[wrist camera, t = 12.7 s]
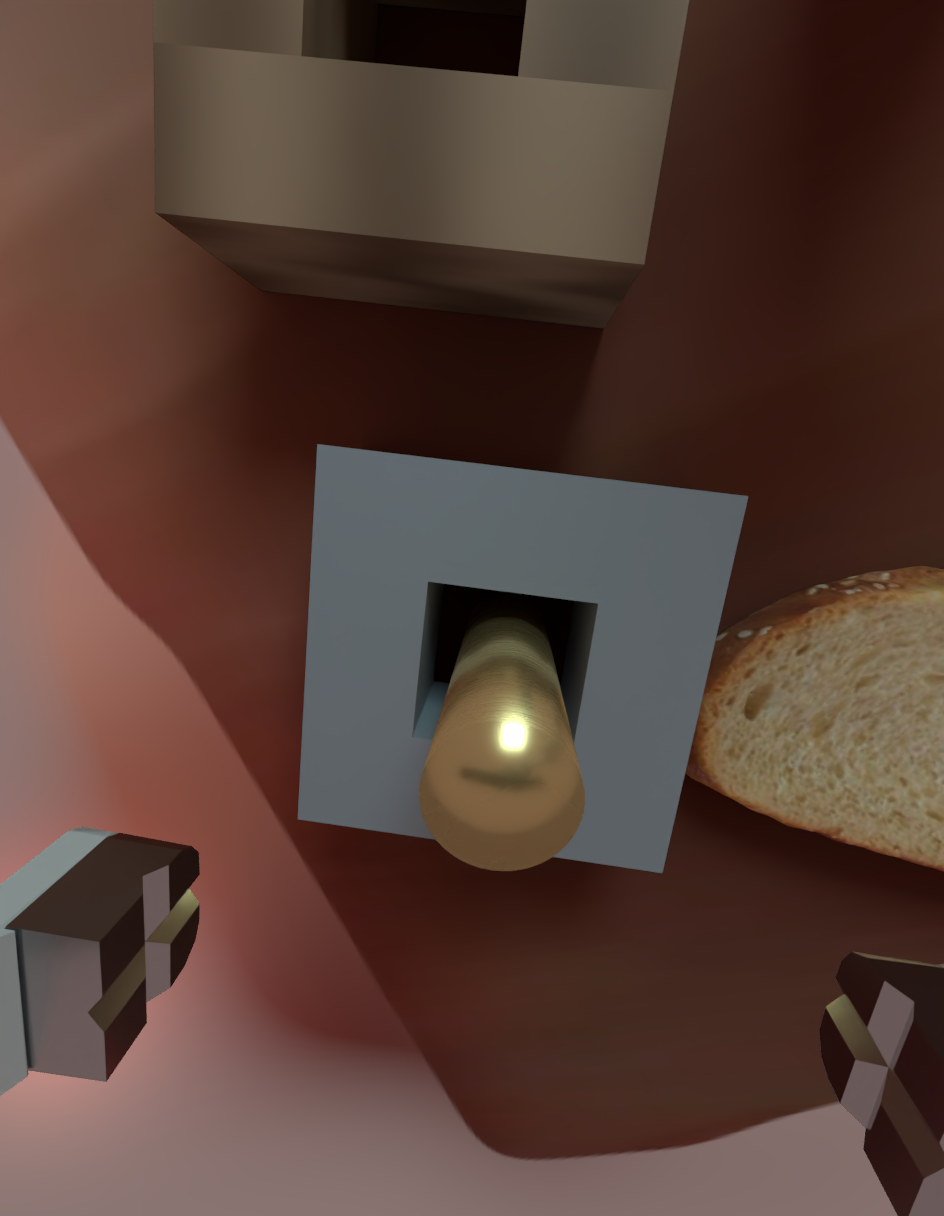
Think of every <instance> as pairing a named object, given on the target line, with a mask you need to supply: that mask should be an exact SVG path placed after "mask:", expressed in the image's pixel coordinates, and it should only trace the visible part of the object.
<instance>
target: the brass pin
mask: <svg viewBox="0 0 944 1216" xmlns="http://www.w3.org/2000/svg"><path fill="white" fill-rule="evenodd" d="M419 801H420V808H421V812H422V816H423V818H424V821H425V823H426V825H427V827H428V829H429V831H430V832H431V834H432V835H433V837H434V838H435V839H436V840H437V842H438V843H439V844H440V845H441V846H442V847H443V848H444V849H445V850H447V851H448V852H449V853H450V854H452V855H453V856H455V857H456V858H458V859H460V860H461V861H464V862H466V863H468V864H470V865H473V866H476V867H479V868H483V869H487V870H494V871H515V870H522V869H526V868H530V867H533V866H536V865H538V864H541V863H543V862H545V861H547V860H548V859H550V858H552V857H553V856H555V855H556V854H557V853H559V852H560V851H561V850H562V849H563V848H564V847H565V846H566V845H567V844H568V843H569V841H570V840H571V839H572V838H573V836H574V834H575V833H576V831H577V829H578V827H579V825H580V823H581V820H582V816H583V813H584V806H585V790H584V784H583V779H582V775H581V771H580V767H579V763H578V759H577V754H576V750H575V746H574V742H573V738H572V734H571V730H570V725H569V721H568V717H567V713H566V709H565V705H564V700H563V696H562V692H561V688H560V684H559V680H558V676H557V671H556V667H555V663H554V659H553V655H552V651H551V646H550V642H549V638H548V634H547V630H546V626H545V622H544V618H543V615H542V613H541V611H540V610H539V608H538V607H537V606H536V605H535V603H534V602H532V601H531V600H530V599H528V598H527V597H525V596H523V595H521V594H518V593H512V592H499V593H495V594H492V595H490V596H488V597H486V598H484V599H483V600H482V601H480V602H479V603H478V604H477V606H476V607H475V608H474V610H473V611H472V613H471V615H470V618H469V621H468V625H467V628H466V631H465V635H464V638H463V641H462V644H461V648H460V651H459V654H458V658H457V661H456V664H455V667H454V671H453V674H452V677H451V681H450V684H449V687H448V690H447V694H446V697H445V700H444V704H443V707H442V710H441V713H440V717H439V720H438V723H437V727H436V730H435V733H434V736H433V740H432V743H431V746H430V750H429V753H428V756H427V759H426V763H425V766H424V769H423V773H422V776H421V780H420V786H419Z"/></svg>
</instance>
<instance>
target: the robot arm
mask: <svg viewBox="0 0 944 1216" xmlns="http://www.w3.org/2000/svg"><path fill="white" fill-rule="evenodd" d="M199 874H200V873H199V853H198V851H197V850H195V849H194V848H193V847H192V846H187V845H182V844H176V843H171V842H166V841H161V840H155V839H149V838H145V837H139V836H134V835H129V834H123V833H118V834H117V833H113V832H108V831H102V830H98V829H92V828H87V827H81V828H76V829H73V830H69V831H68V832H66V833H65V834H64V835H63V836H61V837H60V838H59V839H58V840H56V841H55V842H54V843H52V844H51V845H50V846H48V847H47V848H46V849H45V850H43V851H42V852H41V853H40V854H38V855H37V856H36V857H34V858H33V859H32V860H31V861H29V862H28V863H27V864H26V865H24V866H23V867H22V868H21V869H19V870H18V871H17V872H16V873H14V874H13V875H12V876H10V877H9V878H8V879H7V880H5V881H4V882H3V883H1V884H0V1096H1V1095H2V1094H3V1093H5V1092H6V1091H8V1090H9V1089H10V1088H12V1087H13V1086H15V1085H16V1084H17V1083H19V1082H20V1081H22V1080H23V1079H24V1078H26V1077H27V1076H28V1070H29V1071H36V1072H44V1073H50V1074H57V1075H64V1076H70V1077H77V1078H85V1079H91V1080H99V1081H105V1082H106V1081H107V1080H108V1079H109V1077H110V1076H111V1074H112V1073H113V1071H114V1070H115V1068H116V1067H117V1065H118V1064H119V1062H120V1061H121V1060H122V1058H123V1056H124V1055H125V1054H126V1052H127V1051H128V1049H129V1048H130V1046H131V1045H132V1043H133V1042H134V1040H135V1039H136V1038H137V1036H138V1035H139V1033H140V1032H141V1030H142V1029H143V1027H144V1026H145V1024H146V1023H147V1022H146V1021H147V1020H146V1019H147V1015H146V1002H148V1001H149V1000H151V999H153V998H154V997H156V996H158V995H159V994H161V993H162V992H164V991H166V990H167V989H169V988H170V987H171V986H172V984H173V983H174V981H175V980H176V978H177V977H178V975H179V973H180V972H181V971H182V969H183V968H184V966H185V964H186V961H187V959H188V956H189V954H190V952H191V949H192V947H193V944H194V942H195V939H196V934H197V929H198V924H199V903H198V901H197V900H196V898H195V897H194V895H193V894H192V892H191V891H190V889H189V887H190V886H191V885H192V883H193V882H194V881H195V879H196V878H197V877H198V875H199ZM836 979H837V981H838V983H839V985H840V988H841V990H842V992H843V995H842V996H840V997H839V998H837V999H836V1000H835V1001H833V1002H832V1003H831V1004H829V1005H828V1006H826V1007H825V1011H824V1015H823V1018H822V1022H821V1026H820V1029H819V1033H820V1046H821V1057H822V1061H823V1064H824V1067H825V1070H826V1074H827V1077H828V1080H829V1082H830V1084H831V1086H832V1088H833V1090H834V1092H835V1094H836V1096H837V1098H838V1100H839V1102H840V1104H841V1105H842V1106H844V1108H845V1109H846V1110H847V1111H849V1112H850V1113H851V1114H852V1115H853V1116H854V1117H855V1118H856V1119H857V1120H858V1121H859V1122H860V1123H861V1124H862V1125H863V1126H864V1127H865V1128H866V1132H865V1141H864V1151H865V1153H866V1155H867V1157H868V1159H869V1161H870V1163H871V1165H872V1167H873V1169H874V1171H875V1172H876V1174H877V1176H878V1178H879V1180H880V1182H881V1184H882V1186H883V1188H884V1190H885V1192H886V1194H887V1196H888V1198H889V1200H890V1201H891V1203H892V1205H893V1207H894V1209H895V1211H896V1213H897V1215H898V1216H944V965H943V964H939V965H934V964H930V963H923V962H916V961H910V960H903V959H897V958H890V957H884V956H877V955H871V954H864V953H857V952H850V953H849V954H848V955H847V956H846V957H845V958H844V959H843V960H842V961H841V964H840V966H839V969H838V972H837V975H836Z"/></svg>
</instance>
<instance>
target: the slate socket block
mask: <svg viewBox="0 0 944 1216" xmlns="http://www.w3.org/2000/svg"><path fill="white" fill-rule="evenodd" d="M747 500H748V496H742V495H734V494H725V493H717V492H709V491H701V490H692V489H684V488H676V487H668V486H659V485H651V484H643V483H635V482H626V481H618V480H610V479H602V478H593V477H585V476H577V475H568V474H560V473H552V472H544V471H535V470H527V469H519V468H511V467H502V466H494V465H486V464H478V463H469V462H461V461H453V460H445V459H436V458H428V457H420V456H412V455H403V454H395V453H387V452H379V451H370V450H362V449H354V448H346V447H337V446H329V445H321V444H317V459H316V478H315V497H314V516H313V535H312V554H311V574H310V593H309V612H308V631H307V650H306V669H305V689H304V708H303V727H302V746H301V765H300V784H299V804H298V819H299V820H306V821H313V822H320V823H327V824H333V825H340V826H347V827H354V828H360V829H367V830H374V831H381V832H388V833H394V834H401V835H408V836H415V837H421V838H428V839H435V838H434V837H433V835H432V834H431V832H430V831H429V829H428V827H427V825H426V823H425V821H424V818H423V816H422V812H421V808H420V801H419V786H420V780H421V776H422V773H423V769H424V766H425V763H426V759H427V756H428V753H429V750H430V746H431V743H432V740H433V736H434V733H435V730H436V727H437V723H438V720H439V717H440V713H441V710H442V707H443V704H444V700H445V697H446V694H447V690H448V687H449V684H450V683H443V682H435V681H434V671H435V662H436V653H437V644H438V634H439V625H440V616H441V607H442V598H443V588H444V584H450V585H458V586H465V587H473V588H481V589H489V590H496V591H504V592H512V593H519V594H527V595H535V596H543V597H550V598H558V599H566V600H573V601H574V605H573V611H572V618H571V624H570V630H569V636H568V642H567V648H566V654H565V660H564V666H563V672H562V678H561V684H560V688H561V692H562V696H563V700H564V705H565V709H566V713H567V717H568V721H569V725H570V730H571V734H572V738H573V742H574V746H575V750H576V754H577V759H578V763H579V767H580V771H581V775H582V779H583V784H584V790H585V806H584V813H583V816H582V820H581V823H580V825H579V827H578V829H577V831H576V833H575V834H574V836H573V838H572V839H571V840H570V841H569V843H568V844H567V845H566V846H565V847H564V848H563V849H562V850H561V851H560V852H559V853H557V854H556V855H555V856H553V857H557V858H564V859H570V860H577V861H584V862H591V863H598V864H604V865H611V866H618V867H625V868H631V869H638V870H645V871H652V872H659V873H662V872H663V868H664V864H665V859H666V855H667V850H668V846H669V842H670V837H671V833H672V829H673V824H674V820H675V815H676V811H677V807H678V802H679V798H680V794H681V789H682V785H683V780H684V776H685V772H686V767H687V763H688V759H689V754H690V750H691V745H692V741H693V737H694V732H695V728H696V724H697V719H698V715H699V710H700V706H701V702H702V697H703V693H704V688H705V684H706V680H707V675H708V671H709V667H710V662H711V658H712V653H713V649H714V645H715V640H716V636H717V632H718V627H719V623H720V618H721V614H722V610H723V605H724V601H725V597H726V592H727V588H728V583H729V579H730V575H731V570H732V566H733V562H734V557H735V553H736V548H737V544H738V540H739V535H740V531H741V527H742V522H743V518H744V513H745V509H746V505H747ZM435 840H436V839H435Z"/></svg>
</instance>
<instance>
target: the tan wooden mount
mask: <svg viewBox="0 0 944 1216" xmlns="http://www.w3.org/2000/svg"><path fill="white" fill-rule="evenodd" d="M378 4H386V5H397V6H409V7H420V8H431V9H442V10H453V11H464V12H475V13H487V14H498V15H509V16H520V17H525V21H524V29H523V38H522V47H521V55H520V64H519V73H518V76H507V75H496V74H486V73H475V72H464V71H454V70H443V69H432V68H422V67H411V66H400V65H390V64H379V63H375V48H376V32H377V17H378ZM688 5H689V0H153V50H154V139H155V213H156V214H158V215H159V216H160V217H162V218H163V219H165V220H166V221H167V222H169V223H170V224H171V225H173V226H174V227H175V228H177V229H178V230H179V231H181V232H182V233H183V234H185V235H186V236H188V237H189V238H190V239H192V240H193V241H194V242H196V243H197V244H198V245H200V246H201V247H202V248H204V249H205V250H206V251H208V252H209V253H210V254H212V255H213V256H215V257H216V258H217V259H219V260H220V261H221V262H223V263H224V264H225V265H227V266H228V267H229V268H231V269H232V270H233V271H235V272H236V273H237V274H239V275H240V276H242V277H243V278H244V279H246V280H247V281H248V282H250V283H251V284H252V285H254V286H255V287H256V288H258V289H259V290H261V291H270V292H279V293H288V294H297V295H306V296H315V297H324V298H333V299H342V300H351V301H360V302H369V303H378V304H387V305H396V306H405V307H414V308H423V309H432V310H441V311H450V312H459V313H468V314H477V315H486V316H495V317H504V318H513V319H522V320H531V321H540V322H550V323H559V324H568V325H577V326H586V327H595V328H605V326H606V325H607V323H608V322H609V320H610V318H611V317H612V315H613V314H614V312H615V310H616V309H617V307H618V306H619V304H620V302H621V301H622V299H623V298H624V296H625V294H626V293H627V291H628V290H629V288H630V287H631V285H632V283H633V282H634V280H635V279H636V277H637V275H638V274H639V272H640V271H641V269H642V267H643V266H644V263H645V257H646V251H647V246H648V240H649V234H650V228H651V222H652V216H653V210H654V204H655V199H656V193H657V187H658V181H659V175H660V169H661V163H662V157H663V152H664V146H665V140H666V134H667V128H668V122H669V116H670V110H671V104H672V99H673V93H674V87H675V81H676V75H677V69H678V63H679V57H680V52H681V46H682V40H683V34H684V28H685V22H686V16H687V10H688Z"/></svg>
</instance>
